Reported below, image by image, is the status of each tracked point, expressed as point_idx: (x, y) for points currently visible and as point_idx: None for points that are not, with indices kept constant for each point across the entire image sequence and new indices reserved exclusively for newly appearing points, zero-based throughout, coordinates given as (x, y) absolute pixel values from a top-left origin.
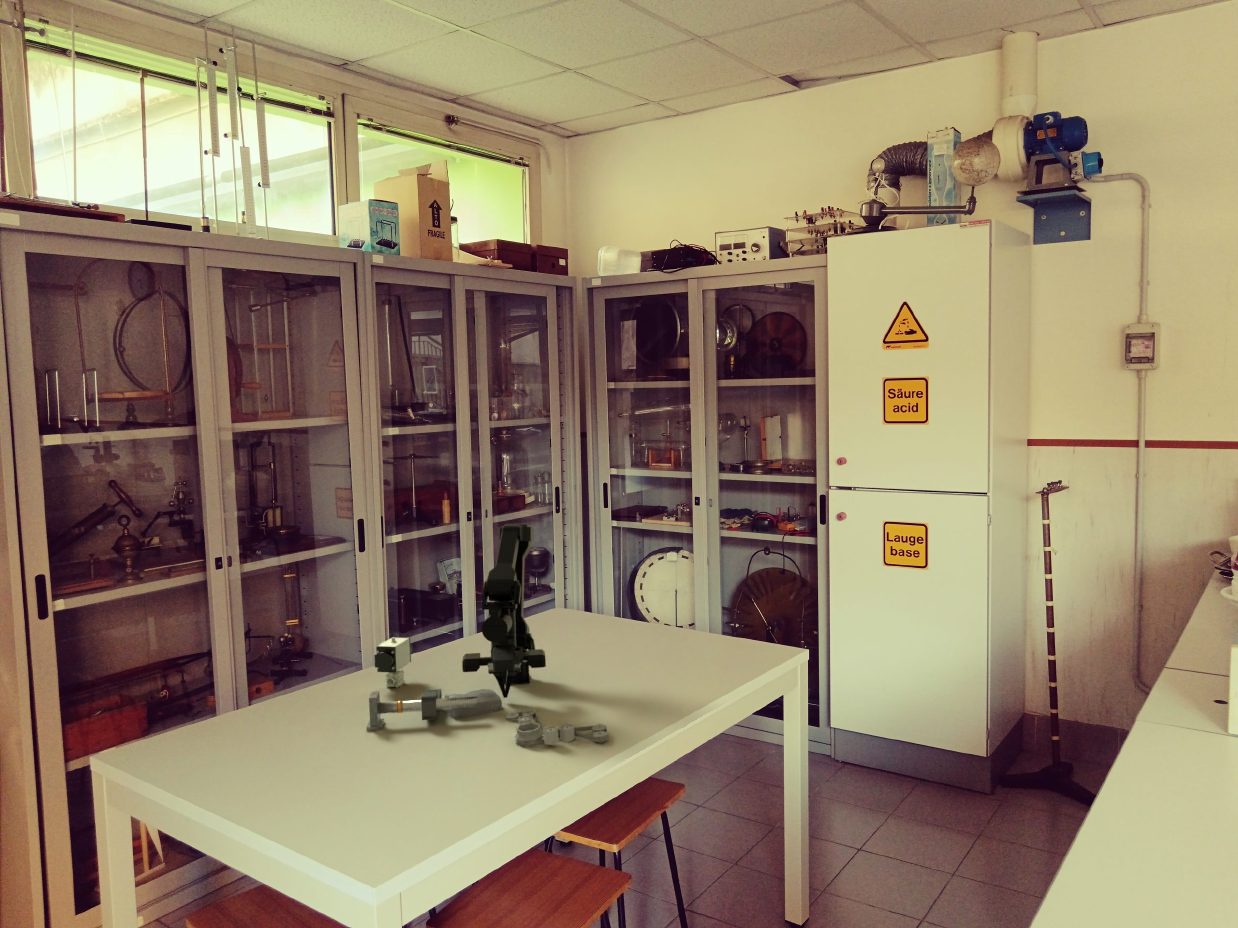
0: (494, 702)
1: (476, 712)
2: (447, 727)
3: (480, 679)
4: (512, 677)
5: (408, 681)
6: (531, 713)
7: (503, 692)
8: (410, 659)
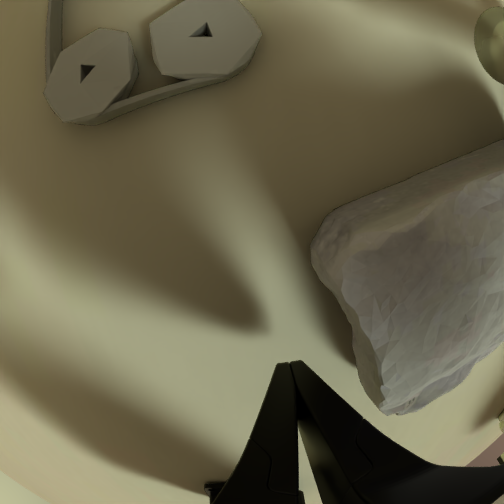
0: (380, 211)
1: (451, 162)
2: None
3: None
4: (228, 496)
5: (487, 427)
6: (69, 58)
7: (309, 381)
8: (501, 460)
